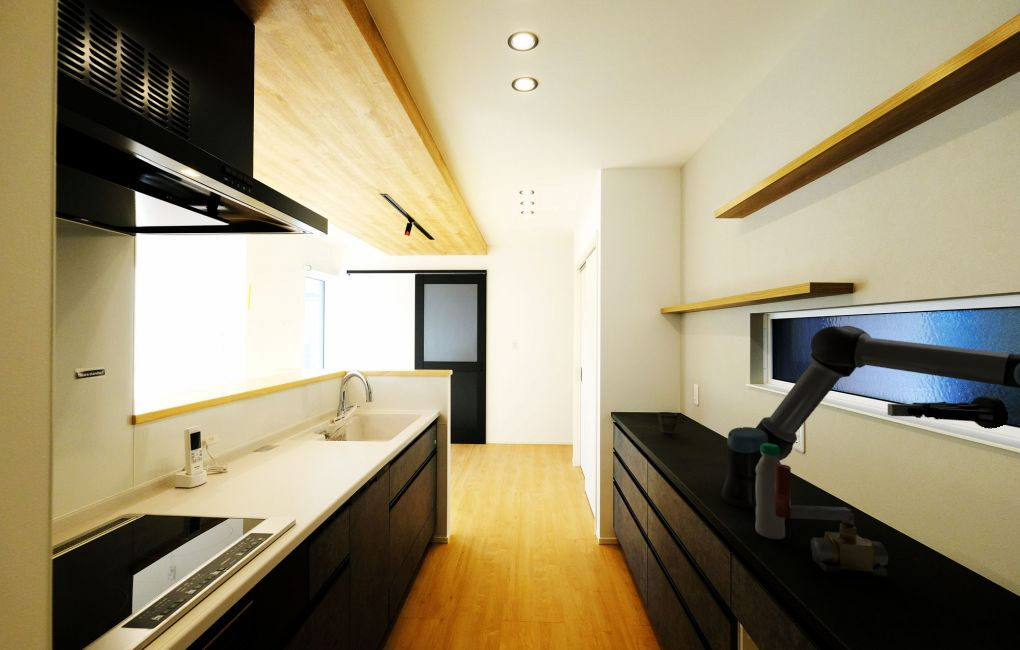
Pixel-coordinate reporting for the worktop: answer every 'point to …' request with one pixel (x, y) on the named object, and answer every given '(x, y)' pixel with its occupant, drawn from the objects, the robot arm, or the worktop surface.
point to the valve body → (849, 552)
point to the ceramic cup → (668, 421)
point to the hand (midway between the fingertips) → (889, 409)
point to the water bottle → (767, 494)
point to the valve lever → (800, 511)
